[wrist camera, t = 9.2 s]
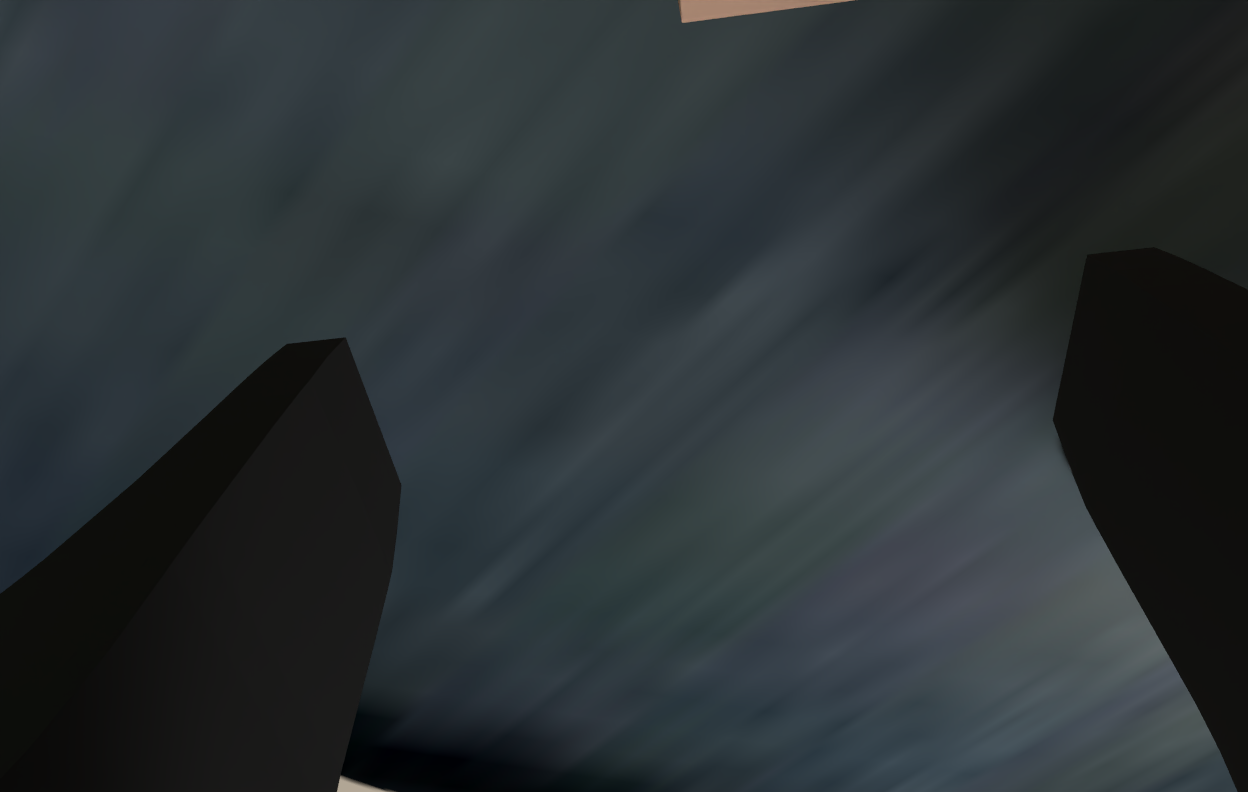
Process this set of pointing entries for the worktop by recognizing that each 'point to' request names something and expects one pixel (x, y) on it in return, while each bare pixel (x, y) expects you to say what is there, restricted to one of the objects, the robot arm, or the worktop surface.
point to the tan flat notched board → (738, 7)
